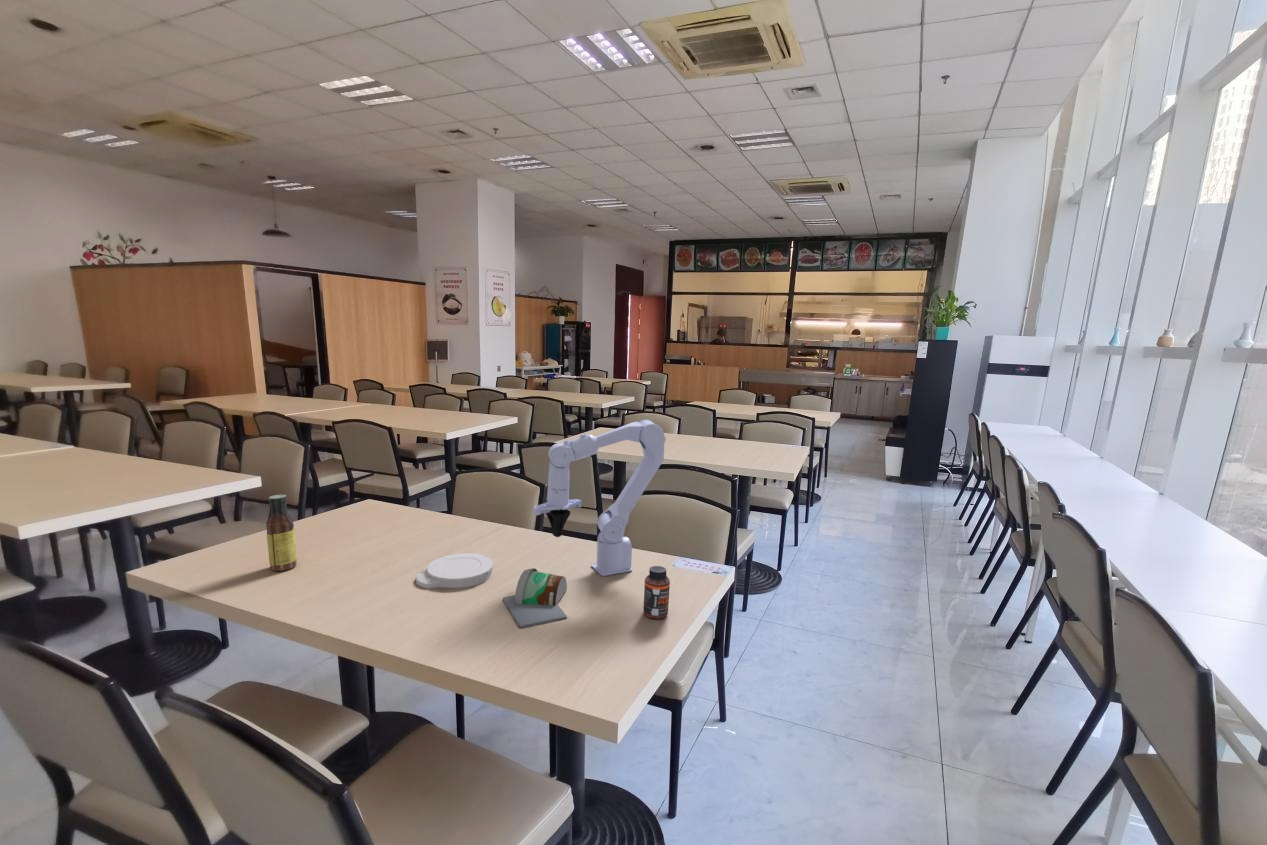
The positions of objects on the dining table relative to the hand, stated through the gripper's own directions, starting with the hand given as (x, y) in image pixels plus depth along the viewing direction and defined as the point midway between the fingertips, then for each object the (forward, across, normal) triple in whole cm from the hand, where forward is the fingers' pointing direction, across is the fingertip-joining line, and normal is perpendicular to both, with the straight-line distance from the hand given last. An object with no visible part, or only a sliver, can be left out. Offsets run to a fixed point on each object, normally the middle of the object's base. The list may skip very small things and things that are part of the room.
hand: (556, 535), depth 151 cm
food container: (+7, -8, -15) cm, 18 cm away
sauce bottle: (+12, -57, +46) cm, 74 cm away
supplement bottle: (+10, +5, -34) cm, 36 cm away
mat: (+10, -16, -15) cm, 24 cm away
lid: (+11, -23, +14) cm, 29 cm away
